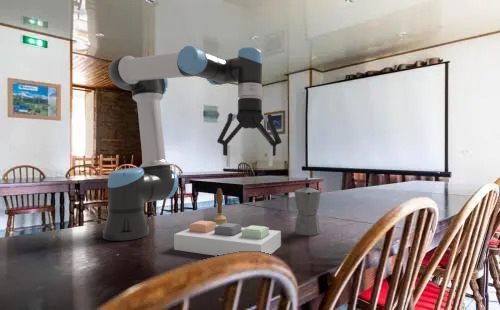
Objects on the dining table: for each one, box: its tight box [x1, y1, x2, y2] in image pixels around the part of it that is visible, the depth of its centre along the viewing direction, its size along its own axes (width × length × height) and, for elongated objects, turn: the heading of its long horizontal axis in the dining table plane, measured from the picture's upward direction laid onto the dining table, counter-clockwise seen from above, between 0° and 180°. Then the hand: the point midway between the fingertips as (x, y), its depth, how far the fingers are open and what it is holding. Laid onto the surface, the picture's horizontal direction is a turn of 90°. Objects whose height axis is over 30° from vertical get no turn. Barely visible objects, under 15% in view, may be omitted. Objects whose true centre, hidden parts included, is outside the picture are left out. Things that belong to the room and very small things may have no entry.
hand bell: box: [213, 187, 228, 225], centre depth 115 cm, size 8×8×16 cm
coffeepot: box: [293, 182, 322, 236], centre depth 115 cm, size 15×9×18 cm, turn 174°
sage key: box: [242, 224, 270, 240], centre depth 92 cm, size 6×6×3 cm
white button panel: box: [173, 225, 282, 257], centre depth 96 cm, size 28×16×5 cm, turn 66°
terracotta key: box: [188, 220, 216, 233], centre depth 99 cm, size 6×6×3 cm
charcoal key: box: [215, 222, 242, 236], centre depth 96 cm, size 6×6×3 cm
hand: (249, 166), depth 100 cm, fingers open, 13 cm apart
